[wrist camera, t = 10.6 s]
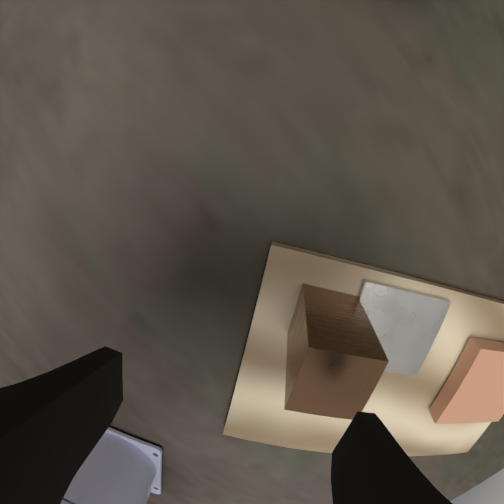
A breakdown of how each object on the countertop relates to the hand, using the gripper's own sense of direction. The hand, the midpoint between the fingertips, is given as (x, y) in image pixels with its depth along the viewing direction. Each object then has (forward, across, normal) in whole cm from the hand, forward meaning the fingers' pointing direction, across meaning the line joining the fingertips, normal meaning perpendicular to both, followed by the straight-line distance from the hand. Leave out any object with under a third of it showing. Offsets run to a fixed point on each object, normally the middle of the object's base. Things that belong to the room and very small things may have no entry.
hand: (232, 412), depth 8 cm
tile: (+7, -13, +2) cm, 15 cm away
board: (+9, -11, +4) cm, 15 cm away
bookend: (+8, -6, 0) cm, 10 cm away
